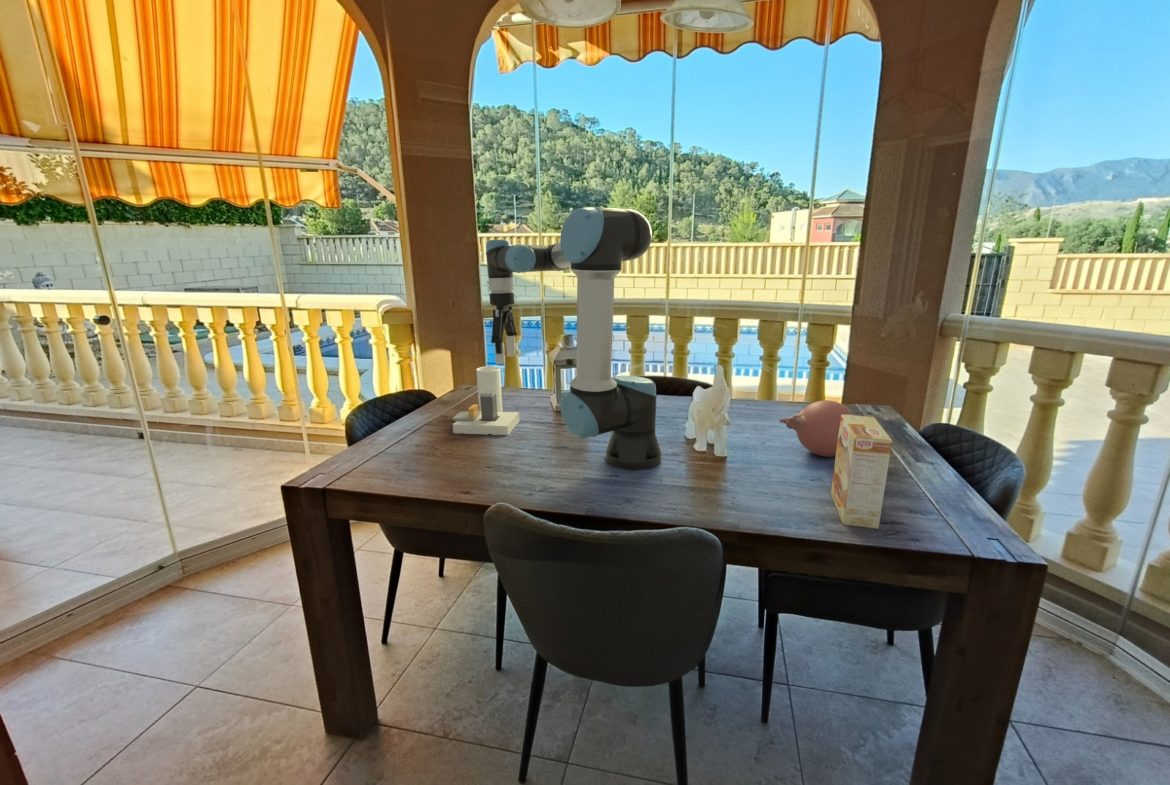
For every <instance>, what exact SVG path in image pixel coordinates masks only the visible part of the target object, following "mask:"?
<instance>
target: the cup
mask: <svg viewBox="0 0 1170 785" xmlns="http://www.w3.org/2000/svg"><path fill="white" fill-rule="evenodd" d="M475 370H476V382H477V383H476V384H477V385H476V386H477V396H478V397H477V398H478V399H477V400H478V411H481V401H480V393H481V392H482V391H484V390H495V391H496V401H497V412H504V411H503V398H502V395H503V394H502V380H501V367H499V366H495V365H494V366H493V365H490V366H487V365H486V366H481V367H477V368H476V369H475Z"/></svg>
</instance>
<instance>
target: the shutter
mask: <svg viewBox="0 0 1170 785" xmlns="http://www.w3.org/2000/svg"><path fill="white" fill-rule="evenodd" d="M467 410H468V411H459V412H457V413H456V415H454V416H453V417H452V418H451V419H452V421H455V422H456V421H474V420H475V419H476V418H477V417H478V416H479V415H480V412H478V411H479V403H478V404H472V405H471V406H469V407H468V409H467Z"/></svg>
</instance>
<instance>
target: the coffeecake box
mask: <svg viewBox="0 0 1170 785" xmlns="http://www.w3.org/2000/svg"><path fill="white" fill-rule="evenodd" d="M892 445H893V439H892V438H891V437H890V436H889V434H888V433H887V432H886V431H885V429H884V428H883V427H882V425H881V424H880V423H879V422H878V420H877V419H876V417H874V416H867V415H866V416H864V415H863V416H862V415H855V414H854V415H841V418H840V426H839V434H838V442H837V450H836V456H835V459H834V468H833V476H832V482H831V491H830V496H831V498H832V500H833V503H834V505H835V507H836V509H837V513H838V515H839V518H840V521H841V523H842V525H844V526H850V525H851V526H852V527H861V528H868V529H877V530H878V529H879V528H880V522H881V515H882V509H883V502H884V495H885V491H886V490H885V489H886V483H887V477H888V471H889V465H890V464H889V463H890V458H891V453H892V452H891V451H892Z"/></svg>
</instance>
